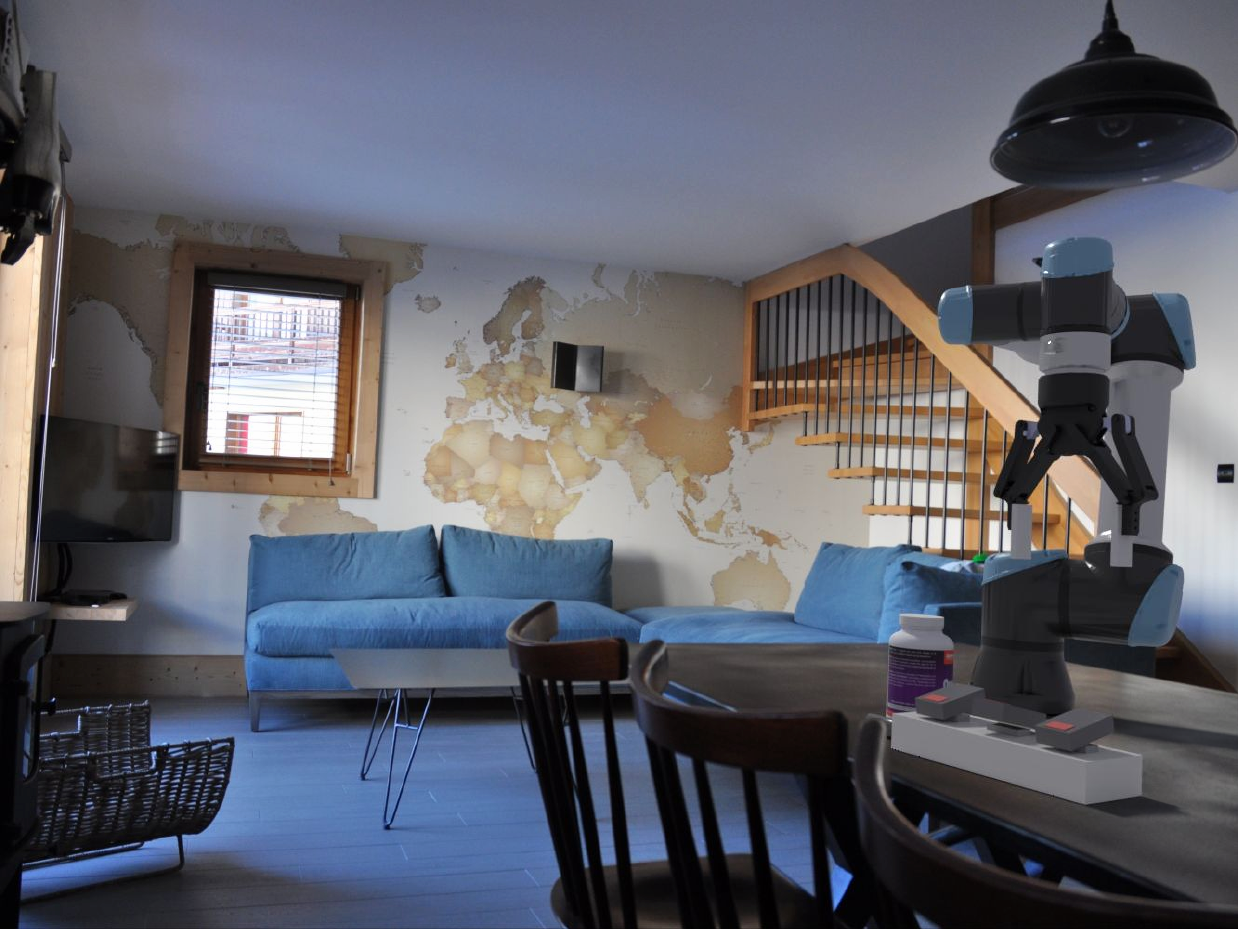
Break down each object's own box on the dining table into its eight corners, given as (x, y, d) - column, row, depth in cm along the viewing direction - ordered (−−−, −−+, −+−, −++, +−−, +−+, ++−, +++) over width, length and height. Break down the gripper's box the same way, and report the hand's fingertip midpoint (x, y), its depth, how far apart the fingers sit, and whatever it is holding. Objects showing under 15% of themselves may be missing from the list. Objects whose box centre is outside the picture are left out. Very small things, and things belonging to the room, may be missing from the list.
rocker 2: (1012, 723, 117) (1015, 706, 117) (1043, 730, 113) (1046, 713, 114) (970, 713, 113) (974, 696, 114) (1001, 721, 110) (1004, 703, 110)
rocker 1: (958, 697, 124) (956, 682, 124) (985, 703, 120) (984, 687, 120) (916, 713, 120) (914, 697, 120) (943, 720, 117) (942, 703, 117)
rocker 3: (1079, 724, 110) (1077, 706, 110) (1114, 732, 107) (1112, 714, 107) (1036, 742, 107) (1034, 724, 106) (1071, 751, 103) (1069, 732, 103)
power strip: (895, 729, 133) (897, 692, 133) (1141, 795, 105) (1142, 748, 105) (842, 734, 128) (844, 695, 129) (1084, 804, 100) (1086, 754, 100)
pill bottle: (954, 738, 130) (958, 620, 130) (887, 732, 131) (891, 616, 132) (947, 725, 138) (951, 615, 138) (884, 720, 139) (888, 611, 140)
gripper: (966, 380, 129) (960, 555, 128) (1155, 359, 108) (1150, 569, 107) (1007, 386, 133) (1002, 556, 132) (1197, 368, 112) (1193, 570, 111)
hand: (1068, 563), depth 119 cm, fingers open, 12 cm apart
